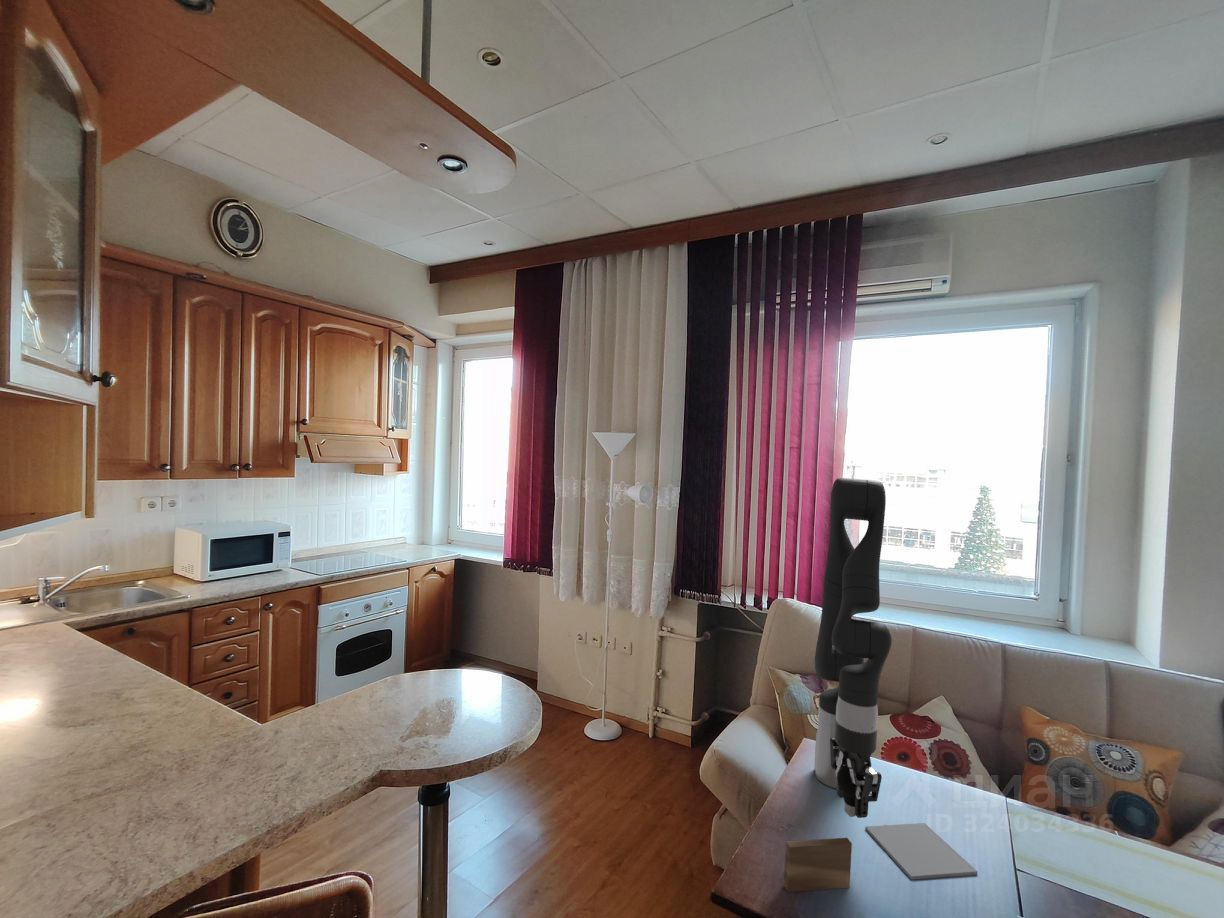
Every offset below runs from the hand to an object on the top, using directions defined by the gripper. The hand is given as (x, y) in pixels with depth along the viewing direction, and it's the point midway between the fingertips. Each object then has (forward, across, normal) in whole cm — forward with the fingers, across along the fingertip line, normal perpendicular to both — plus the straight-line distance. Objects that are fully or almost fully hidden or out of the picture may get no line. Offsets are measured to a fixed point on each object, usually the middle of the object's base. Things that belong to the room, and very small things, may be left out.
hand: (851, 805), depth 109 cm
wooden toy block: (+9, -8, +11) cm, 16 cm away
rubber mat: (+10, -1, -15) cm, 18 cm away
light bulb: (+2, 0, 0) cm, 2 cm away
